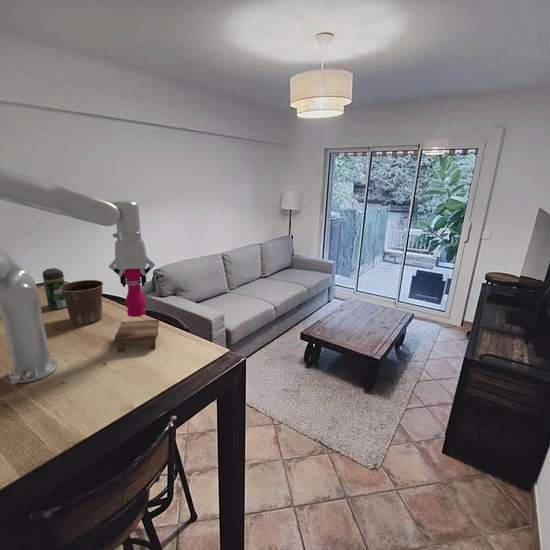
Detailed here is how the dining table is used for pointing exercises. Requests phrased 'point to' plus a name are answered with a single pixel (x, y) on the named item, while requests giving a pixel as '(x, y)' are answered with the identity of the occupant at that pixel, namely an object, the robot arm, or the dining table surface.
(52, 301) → the coffee jar
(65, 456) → the dining table surface
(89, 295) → the plant pot
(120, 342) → the wooden stool
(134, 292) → the pepper mill
